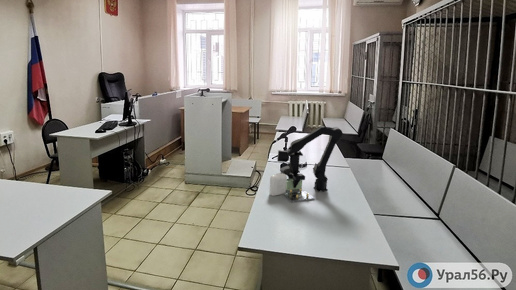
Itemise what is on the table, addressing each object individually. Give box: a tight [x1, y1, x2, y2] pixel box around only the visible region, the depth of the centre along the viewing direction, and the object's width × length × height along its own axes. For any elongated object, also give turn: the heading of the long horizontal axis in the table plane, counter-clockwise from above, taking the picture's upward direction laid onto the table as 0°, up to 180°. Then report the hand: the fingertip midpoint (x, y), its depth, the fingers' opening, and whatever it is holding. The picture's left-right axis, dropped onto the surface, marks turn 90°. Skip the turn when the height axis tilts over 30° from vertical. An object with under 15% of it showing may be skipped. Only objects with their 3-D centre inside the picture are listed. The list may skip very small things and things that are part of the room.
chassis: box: [283, 187, 315, 203], centre depth 187 cm, size 14×11×4 cm
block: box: [286, 178, 303, 191], centre depth 201 cm, size 10×4×6 cm, turn 110°
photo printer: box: [268, 172, 288, 197], centre depth 190 cm, size 10×4×12 cm, turn 123°
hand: (292, 186), depth 201 cm, fingers closed on block, 4 cm apart
